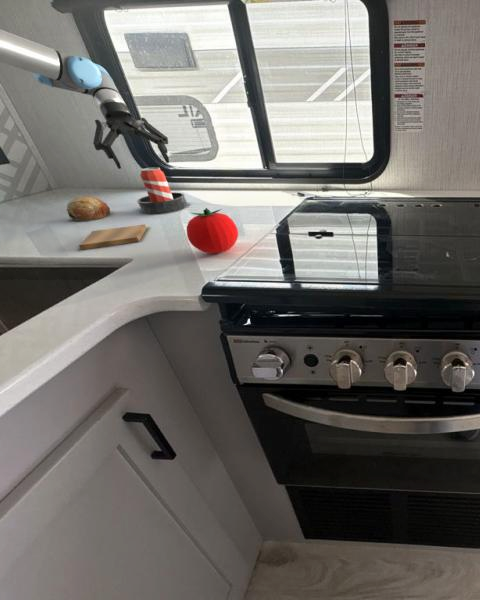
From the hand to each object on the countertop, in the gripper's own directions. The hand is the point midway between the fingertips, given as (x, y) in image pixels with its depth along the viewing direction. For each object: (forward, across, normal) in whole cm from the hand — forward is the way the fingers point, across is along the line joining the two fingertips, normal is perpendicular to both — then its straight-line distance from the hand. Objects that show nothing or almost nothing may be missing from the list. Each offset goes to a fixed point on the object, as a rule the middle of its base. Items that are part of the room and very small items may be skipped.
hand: (144, 163), depth 108 cm
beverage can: (+14, 0, -4) cm, 15 cm away
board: (+30, +17, +11) cm, 37 cm away
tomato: (+51, +1, +32) cm, 60 cm away
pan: (+14, 0, -5) cm, 15 cm away
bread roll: (+10, +19, -10) cm, 23 cm away
